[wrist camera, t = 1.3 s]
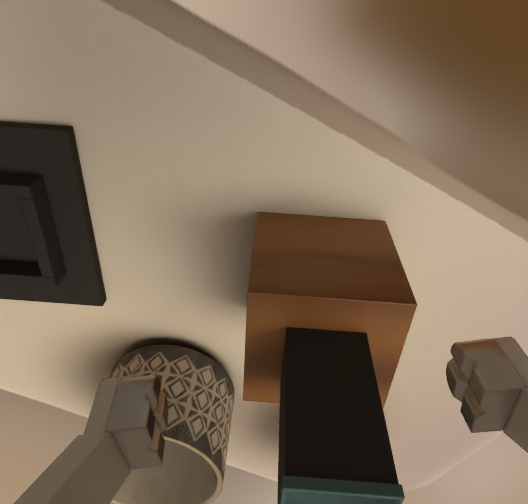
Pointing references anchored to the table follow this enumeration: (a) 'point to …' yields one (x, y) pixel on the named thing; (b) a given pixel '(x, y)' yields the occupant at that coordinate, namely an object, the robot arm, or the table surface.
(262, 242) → the block
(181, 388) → the planter
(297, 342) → the pad block
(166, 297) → the table surface
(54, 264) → the base pad
